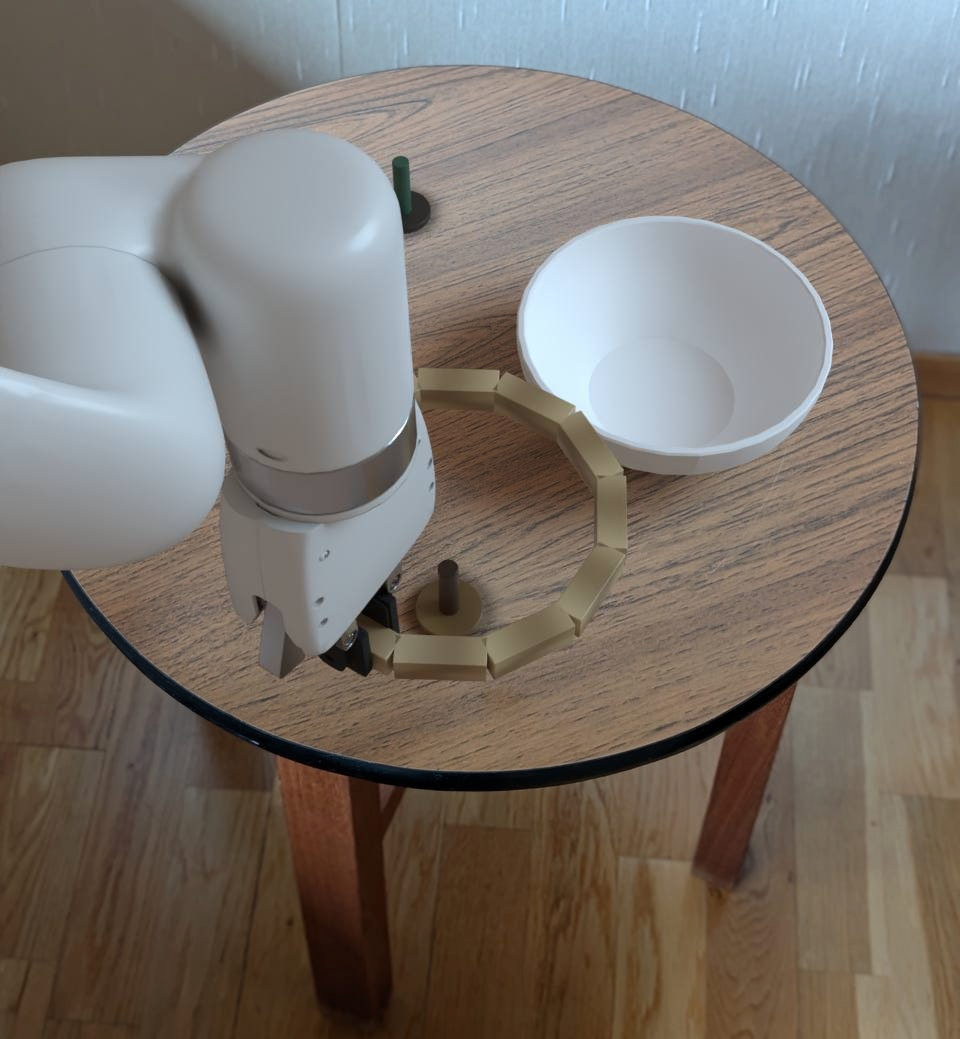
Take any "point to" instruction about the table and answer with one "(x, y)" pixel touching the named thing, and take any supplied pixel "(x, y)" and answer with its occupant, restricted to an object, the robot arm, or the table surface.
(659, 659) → the table surface
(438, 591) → the walnut peg
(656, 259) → the bowl
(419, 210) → the green peg
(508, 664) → the ring
